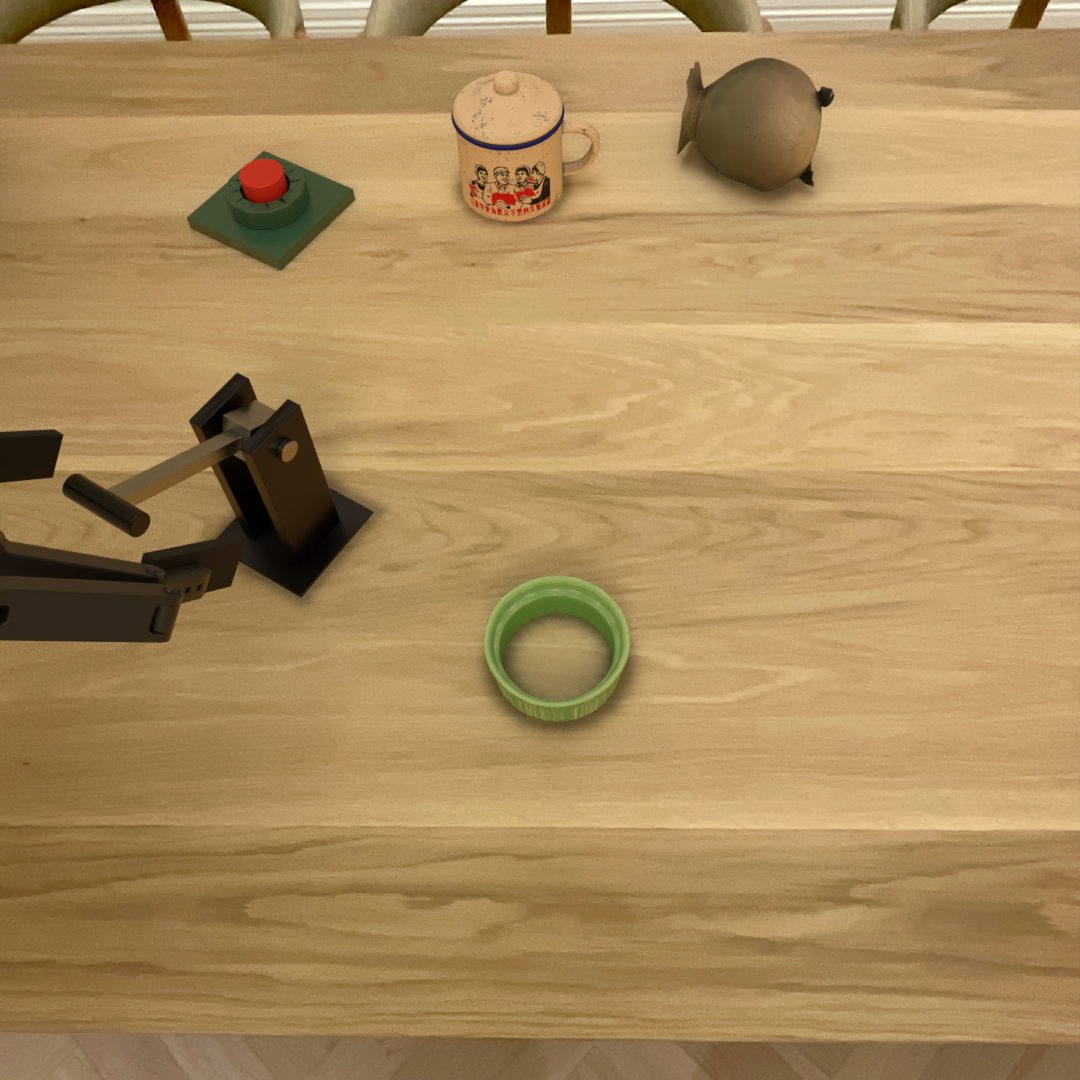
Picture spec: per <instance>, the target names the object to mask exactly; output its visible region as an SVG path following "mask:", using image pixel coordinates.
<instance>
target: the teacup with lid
mask: <svg viewBox="0 0 1080 1080" xmlns="http://www.w3.org/2000/svg"><path fill="white" fill-rule="evenodd" d="M450 115H451V117H450V118H451V122H452V125H453V128H454V129H455V134H456V142H457V143H456V144H457V151H458V152H457V153H458V160H459V161H458V162H459V169H460V178H461V188H462V194H463V198H464V200H465V202H466V204H467V205H468V206H469V207H470V208H471V209H472V210H473V211H474V212H476V213H478V214H479V215H480V216H483V217H486V218H488V219H491V220H496V221H502V222H518V221H520V222H521V221H525V220H529V219H532V218H533V219H534V218H536V217H538V216H540V215H542V214H545V213H546V212H547V211H549V210H550V209H551V208H552V207H554V205H556V203H557V202H558V201H559V199H560V197H561V195H562V193H563V184H564V183H563V182H564V181H563V177H566V176H567V177H568V176H575V175H579V174H581V173H583V172H585V171H587V170H588V169H589V168H590V167H591V166H592V165H593V164H594V163H595V161H596V160H597V158H598V156H599V153H600V149H601V148H600V147H601V138H600V134H599V132H598V131H599V130H598V129H597V128H596V127H595V126H594V125H593V124H591V123H590V122H588V121H586V120H582V119H576V118H575V119H574V118H573V119H564V118H565V105H564V102H563V100H562V97H561V95H560V94H559V92H558V90H557V89H556V88H555V87H554V86H553V84H551V83H549V82H548V81H546V80H545V79H544V78H541V77H540V76H537V75H534V74H531V73H527V72H520V71H512V70H507V69H505V70H504V69H503V70H501V71H498V72H495V73H489V74H486V75H483V76H481V77H478V78H476V79H474V80H472V81H471V82H469V83H468V84H466V86H464V87H462V89H461V90H460V92H459V93H458V94H457V96H455V99H454V102H453V104H452V109H451V114H450ZM564 134H580V135H583V136H585V137H587V138H588V139H589V140H590V141H591V143H590V146H589V149H588V150H587V152H586V154H584V155H583V156H582V157H581V158H578V159H576V160H574V161H568V162H567V161H566V162H563V135H564Z"/></svg>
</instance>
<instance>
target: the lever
mask: <svg viewBox="0 0 1080 1080" xmlns="http://www.w3.org/2000/svg"><path fill="white" fill-rule="evenodd" d="M257 400H258V399H257ZM257 400H254V401H252V402H250V403H247V404H245V405H243V406H241V407H239V408H237V409H235V410H233V411H231V412H229V413H226V414H224V415H223V426H222V433H221V434H218V435H216V436H214V437H212V438H210V439H208V440H206V441H204V442H202V443H198V444H196V445H194V446H192V447H190V448H188V449H186V450H184V451H182V452H180V453H178V454H176V455H174V456H172V457H169V458H167V459H165V460H164V461H162V462H160V463H158V464H155V465H154V466H152V467H149V468H147V469H146V470H144V471H141V472H139V473H138V474H135V475H133V476H131V477H129V478H127V479H124V480H123V481H121V482H119V483H117V484H115V485H113V486H110V487H109V488H105V487H104V486H102V485H100V484H99V483H97V482H95V481H94V480H92V479H90V478H88V477H87V476H85V475H84V474H83V473H79V472H77V473H73V474H70V475H69V476H68V477H67V478H66V479H65V481H63V484H62V487H61V491H62V494H63V496H64V497H65V498H67V499H69V500H71V501H72V502H74V503H75V504H76V505H78V506H80V507H81V508H84V509H85V510H87V511H89V512H90V513H92V514H93V515H95V516H97V517H98V518H100V519H102V520H103V521H104V522H107V523H108V524H110V525H112V527H115V528H117V529H118V530H120V531H121V532H123V533H125V534H127V535H128V536H130V537H131V538H140V537H142V536H143V535H145V533H146V532H147V531H148V529H149V528H150V525H151V522H152V521H151V520H152V519H151V516H150V514H149V513H147V512H146V511H144V510H142V509H141V508H139V507H138V505H140V504H141V503H143V502H145V501H147V500H149V499H151V498H153V497H156V496H157V495H158V494H160V493H162V492H164V491H166V490H168V489H170V488H172V487H175V486H176V485H177V484H180V483H181V482H183V481H186V480H187V479H189V478H191V477H193V476H195V475H197V474H200V473H201V472H203V471H205V470H207V469H208V468H212V467H211V466H212V465H214V464H216V463H218V462H220V461H222V460H224V459H226V458H228V457H230V456H232V455H234V456H236V457H238V458H240V459H242V460H243V461H245V459H244V457H243V455H242V453H241V450H240V448H241V447H242V446H243V445H244V444H245V443H246V442H247V441H248V440H249V439H250V438H251V436H252V435H253V434H254V433H255V432H256V431H257V430H258V429H259V428H260V427H261V426H262V425H263V424H264V423H265V422H266V421H267V420H268V419H269V418H270V417H271V416H272V415H273V414H274V413H275V411H276V410H277V409H274V408H272V407H270V406H269V405H267V404H264V403H262V402H261V401H259V400H258V401H257Z"/></svg>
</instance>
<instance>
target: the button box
mask: <svg viewBox="0 0 1080 1080" xmlns="http://www.w3.org/2000/svg"><path fill="white" fill-rule="evenodd" d="M257 159H272V160H275V161H277V162H278V163H280V164H281V166H282V168H283V171H284V174H285V178H286V181H287V185H288V189H287V192H286V193H285V194H284V195H283V196H282V197H281V198H280V199H277V200H274V201H271V202H269V203H253V202H251V201H249V200H248V199H247V198H246V196H245V194H244V191H243V188H242V185H241V182H240V178H239V174H240V171H241V169H242V168H243V167H241V168H240V169H239V170H237V172H235V173H234V174H233V175H232V176H230V178H228V180H227V182H226V183H225V184H223V185H222V186H221V187H220V188H219V189H218V190H217V191H215V192H214V193H213V194H212V195H211V196H210V197H209V198H207V199H206V200H205V201H204V202H203V203H201V205H200V206H198V207H197V208H196V209H194V211H192V212H191V213H190V214H189V215H187V217H186V220H187V222H188V225H189V227H190V229H192V230H193V231H196V232H198V233H200V234H202V235H204V236H206V237H208V238H210V239H213V240H215V241H217V242H219V243H221V244H222V245H225V246H227V247H229V248H232V249H234V250H236V251H238V252H240V253H242V254H244V255H246V256H249V257H251V258H253V259H255V260H257V261H259V262H261V263H263V264H266V265H267V266H270V267H272V268H273V269H276V270H278V271H280V272H281V271H283V270H284V269H285V268H286V267H287V266H288V265H289V264H290V263H291V262H292V261H293V260H295V258H296V257H297V256H298V255H299V254H300V253H301V252H302V251H304V249H306V248H307V247H308V246H309V245H310V244H311V243H312V242H313V241H314V240H315V239H317V237H318V236H319V235H320V234H321V233H322V232H323V231H324V230H326V228H328V227H329V225H331V224H332V223H333V222H334V221H335V220H336V219H337V218H338V217H340V215H342V213H343V212H345V211H346V209H347V208H348V207H350V206H351V204H353V203H354V202H355V200H356V197H355V191H354V188H352V187H349V186H347V185H345V184H342V183H341V182H337V181H335V180H333V179H331V178H328V177H326V176H324V175H322V174H319V173H318V172H317V173H316V172H314V171H312V170H310V169H308V168H306V167H303V166H301V165H298V164H296V163H293V162H292V161H289V160H286V159H284V158H282V157H280V156H277V155H275V154H274V153H273V154H272V153H271V152H268V151H266V150H263V151H261V152H260V153H259V154H258V155H257V156H255V157H254V158H253V159H252V160H251V161H254V160H257Z"/></svg>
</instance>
